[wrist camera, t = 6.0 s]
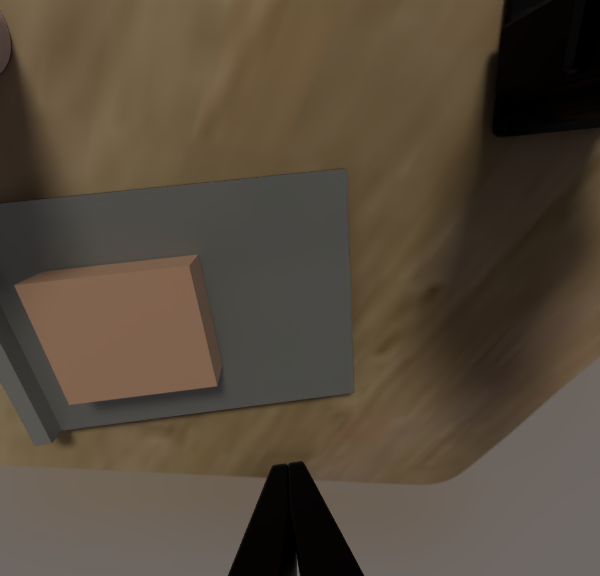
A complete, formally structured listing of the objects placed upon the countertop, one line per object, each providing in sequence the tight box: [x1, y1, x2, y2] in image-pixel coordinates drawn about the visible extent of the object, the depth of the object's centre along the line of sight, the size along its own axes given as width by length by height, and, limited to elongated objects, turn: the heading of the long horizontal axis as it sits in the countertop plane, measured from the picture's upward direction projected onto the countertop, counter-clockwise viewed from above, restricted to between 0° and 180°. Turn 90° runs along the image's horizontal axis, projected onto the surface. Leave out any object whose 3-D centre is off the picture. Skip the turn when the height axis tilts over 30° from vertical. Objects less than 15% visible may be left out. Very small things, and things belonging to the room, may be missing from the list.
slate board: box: [0, 168, 354, 446], centre depth 18 cm, size 20×14×2 cm
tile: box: [14, 254, 222, 405], centre depth 17 cm, size 2×7×8 cm
